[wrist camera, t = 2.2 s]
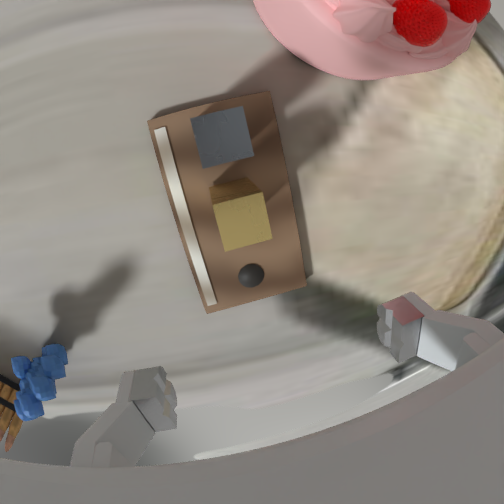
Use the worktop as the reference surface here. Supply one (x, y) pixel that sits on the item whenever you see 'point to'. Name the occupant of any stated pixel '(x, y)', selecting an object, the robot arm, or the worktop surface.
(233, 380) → the worktop surface
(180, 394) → the worktop surface
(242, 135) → the grey rectangular block
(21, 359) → the grapes
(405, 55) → the cake
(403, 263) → the worktop surface
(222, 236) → the wooden block
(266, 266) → the brown flat rectangular board
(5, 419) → the ammunition clip
